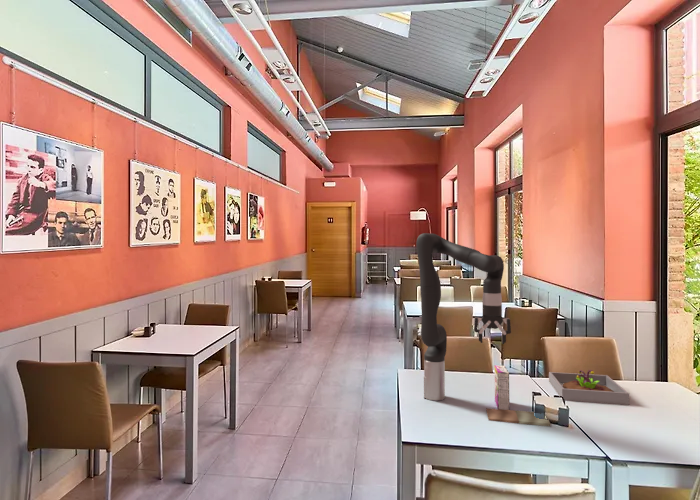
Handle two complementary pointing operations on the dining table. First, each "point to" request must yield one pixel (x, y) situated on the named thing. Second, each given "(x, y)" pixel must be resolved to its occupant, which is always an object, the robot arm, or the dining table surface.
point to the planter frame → (589, 395)
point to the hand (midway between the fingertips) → (492, 343)
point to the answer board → (515, 417)
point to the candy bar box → (501, 387)
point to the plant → (585, 383)
